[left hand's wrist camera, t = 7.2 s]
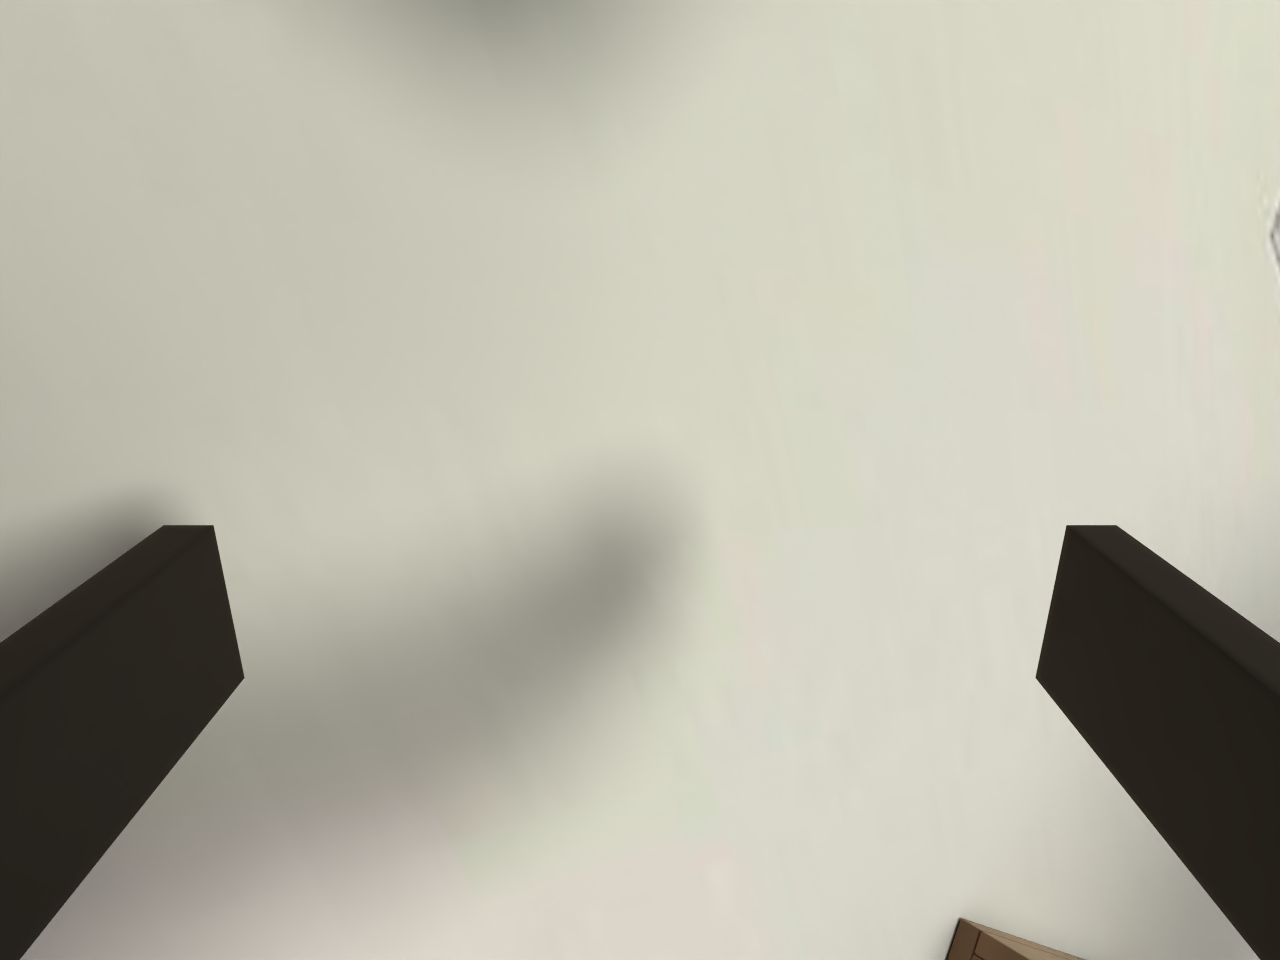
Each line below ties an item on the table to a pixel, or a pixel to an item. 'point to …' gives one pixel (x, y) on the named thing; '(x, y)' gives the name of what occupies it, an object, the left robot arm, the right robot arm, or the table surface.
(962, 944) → the chest
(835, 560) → the table surface
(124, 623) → the left robot arm
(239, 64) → the table surface
